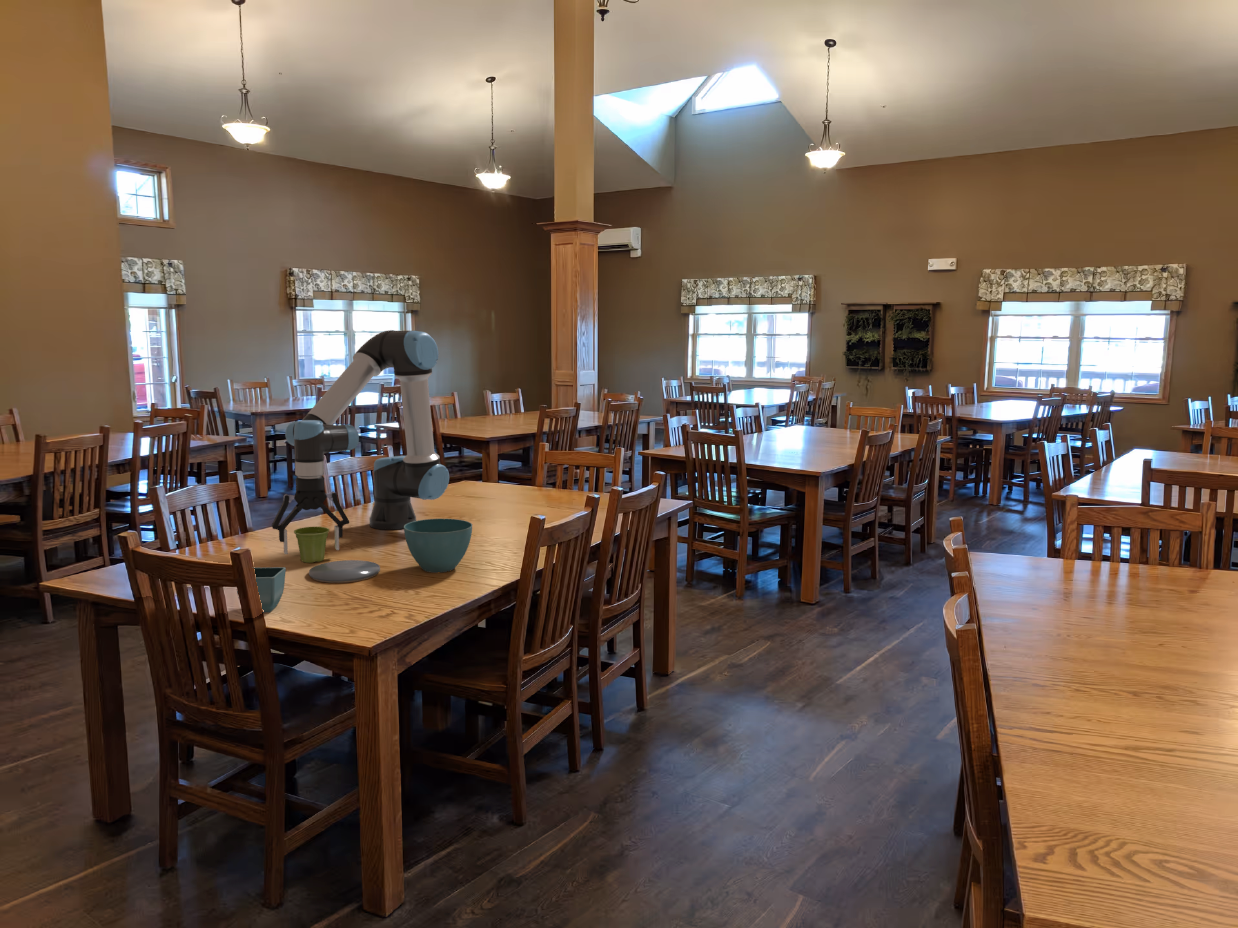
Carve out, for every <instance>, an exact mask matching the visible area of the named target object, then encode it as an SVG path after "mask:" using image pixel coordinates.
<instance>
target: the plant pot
mask: <svg viewBox="0 0 1238 928" xmlns="http://www.w3.org/2000/svg"><path fill="white" fill-rule="evenodd" d="M329 532H330V528H328V527H324V526H305V527H299V528H296V529H295V530H293V533H294V534H295V538H296V540H297V546H298V550H299V551H298V552H299V556H300V561H301V562H303V563H308V564H313V563H314V562H319V563H320V562H323V561H324V560H325V554H326V547H327V546H326V545H327V538H328V536H329Z"/></svg>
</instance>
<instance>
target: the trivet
mask: <svg viewBox="0 0 1238 928" xmlns="http://www.w3.org/2000/svg"><path fill="white" fill-rule="evenodd" d="M380 571H381V565H379V564H378V563H376V562H374V561H373V562H372V561H370V560H369V561H368V560H360V559H357V560H355V559H354V560H353V559H349V560H348V559H347V560H335V561H329V562H324V563H321V564H317V565H315V566H313V567H311V568H310V569H309V571H308V575H309V577H310V578H311V579H312V580H313V581H317V582H322V583H328V584H329V583H330V584H331V583H332V584H343V583H346V584H347V583H354V582H360V581H366V580H369V579H371V578H373V577H375V576H377V575H378V574H379V572H380Z"/></svg>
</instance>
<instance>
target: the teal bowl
mask: <svg viewBox="0 0 1238 928" xmlns="http://www.w3.org/2000/svg"><path fill="white" fill-rule="evenodd" d="M403 532H404V538H405V542H406V545H407V547H408V550H409V552H410V554H411V556H412V558H413V559H414V560H415V562H416V563H417V564H418V565H419V567H420V568H421V569H422V570H423V571H425V572H428V573H435V574H437V573H438V572H440V573H447V571H448V572H451V571H453V570H455V568H456V567H457V566H459V563H460V562H461V561H462V559H463V558H464V556H465V555H466V553H467V551H468V548H469V546H470V542H471V537H472V533H473V524H472V522H470V521H467V520H463V519H457V518H456V519H455V518H428V519H427V518H425V519H419V520H416V521H414V522H410V523H408V524H406V525H404V528H403ZM450 570H451V571H450Z"/></svg>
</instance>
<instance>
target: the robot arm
mask: <svg viewBox="0 0 1238 928" xmlns="http://www.w3.org/2000/svg"><path fill="white" fill-rule="evenodd" d="M438 360H439V349H438V344H437V343H436V341H435V339H434V338H433V337H432V336H431V335H430V334H429V333H427V332H425V331H420V330H419V331H418V330H392V329H390V330H384V331H381V332H379V333H376V334H375V335H373V337H371V338H370V339H368V340H366V342H364V344H363V345H362V346H360V347H359V349H358V350H357V351H356V352H355V353H354V354H353V356H352V362H351V363H350V364H349V365H348V366H347V368H346V369H344V371H343V372H342V373H341V375H339V377H338V378H337V379H335V381H334V382H333V384H332V385H331V386H330V387H329V388H328V389H327V391H325V393H324V394H323V395H322V396H321V397H320V398H319V399H318V401H317V402H316V403H315V405H313V407H312V408H310V410H309V412H307V414H306V415H305V416H304V417H303V418H302V420H297V421H292V422H291V423H289V424H288V425H287V426H286V429H285V435H284V437H285V439H286V441H287V444H289V445H291V446H293V447H294V469H295V470H294V471H295V476H296V477H295V479H294V482H295V493H294V495H292V494H288V493H284V494H283V500H282V503H281V505H280V507H279V509H278V512H277V513H276V515H275V517H274V519H273V522H272V523H271V528H272V530H277V531H278V540H279V542H280V543H283V553H284V555H288V554H289V553H288V552H289V550H288V547H289V546H288V530H287V527H288V526H289V524H291V522H292V521H293V520H294V519H295V517H296V516H297V515H298V514H299V513H300V512H301V511H302V510H305V511H310V510H314V511H315V510H318V509H322V511H323V512H324V513H325V514H326V515H328V517H329V518H330V519H331V520H332V521H333V522H334V523H335V524H336V525H334V549H335V550H336V551H339V550H340V538H343V536H344V533H343V532H344V531H343V529H344V526H345V525H349V524H350V520H349V519H348V516H347V515H346V513H345V511H344V509H343V507H342V506H341V504H340V503H339V500H338V495H337V492H335V491H331V492H327V493H326V491H325V477H324V475H325V454H328V453H329V454H331V453H338V452H347V451H352V450H354V449H355V448H357V447H358V445H359V442H360V439H359V438H360V437H359V436H360V435H359V432H358V430H357V428H356V427H355V426H354V425H352V424H343V423H342V424H335V423H336V421H338V419H339V418H340V416H341V415H342V414H343V413H344V412H345V410H346V409H347V408H348V407H349V406H350V405H351V403H352V402H354V400H355V399H356V397H357V396H358V395H359V394H360V393H361V391H362V390H363V389H364V388H365V387H366V386H367V384H368V383H369V382H370V381H371V380H372V378H373V377H378V376H380V374H381V373H382V372H383V371H384V370H386V369H388V368H393V374H394V377H396V378H397V379H398V380H399V383H400V393H401V405H402V414H403V415H402V416H403V424H404V435H405V444H406V445H405V446H406V455H395V456H386V457H380V458H377V459H375V461H374V462H373V489H374V490H373V491H374V492H373V494H374V495H373V496H374V503H373V506H372V510H371V512H370V513H371V514H370V517H369V527H370V528H373V529H377V530H404V525H406V524H408V523H410V522H414V521H417V516H416V513H415V510H414V508H413V504H412V502H411V501H412V500H411V498H414V499H420V500H426V501H427V500H431V501H432V500H433V501H434V500H438V499H439V498H440V497H442V496H443V494H444V493H445V491H446V490H447V489H448V486H449V482H450V473H449V470H448V468H447V467H446V466H445V465H443V464H441V459H440V455H439V454H438V453H436V451H435V444H434V443H435V441H434V433H433V421H432V411H431V402H430V401H431V400H430V390H429V389H430V388H429V380H428V379H429V378H430V377H431V375H432V374H433V369H432V368H434V367H435V366H436V365H437V364H438V363H437V361H438ZM327 498H328V499H329V501H330V502H331V501H332V503H333V505H334V507H335V508H336V510H337V512H338V514H339V515H340V517H341V520H340V519H339V518H338V517H337V516H336V515H335V514H334V513H333V512H332V511H331V510H330V508H328V507H327V506H326V504H324V502H325V501H326V500H327ZM293 500H294V501H295V502H296V503H297V504H296V505H295V506H294V507H293V509H292V510H291V511H290V513H288V514H287V516H286V517H285V518H284V519H283V517H284V514H285V512H286V511H287V509H288V506H289V504H290V503H292V502H293ZM282 519H283V521H282V522H281V520H282ZM280 522H281V523H280Z"/></svg>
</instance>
